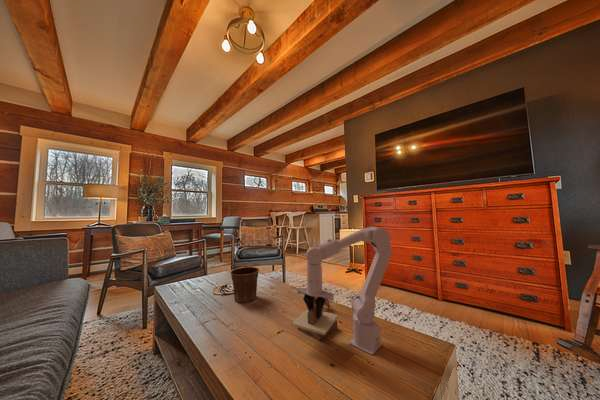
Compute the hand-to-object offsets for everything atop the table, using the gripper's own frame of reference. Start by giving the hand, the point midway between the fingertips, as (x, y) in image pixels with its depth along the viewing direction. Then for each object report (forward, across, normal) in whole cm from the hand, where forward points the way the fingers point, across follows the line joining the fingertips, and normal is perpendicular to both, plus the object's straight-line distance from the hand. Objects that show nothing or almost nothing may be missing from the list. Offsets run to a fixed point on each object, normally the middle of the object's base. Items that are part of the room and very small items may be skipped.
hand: (315, 316), depth 80 cm
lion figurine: (+11, +11, -25) cm, 30 cm away
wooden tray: (+10, +4, -10) cm, 15 cm away
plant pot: (+11, +54, -19) cm, 58 cm away
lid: (+2, 0, 0) cm, 2 cm away
